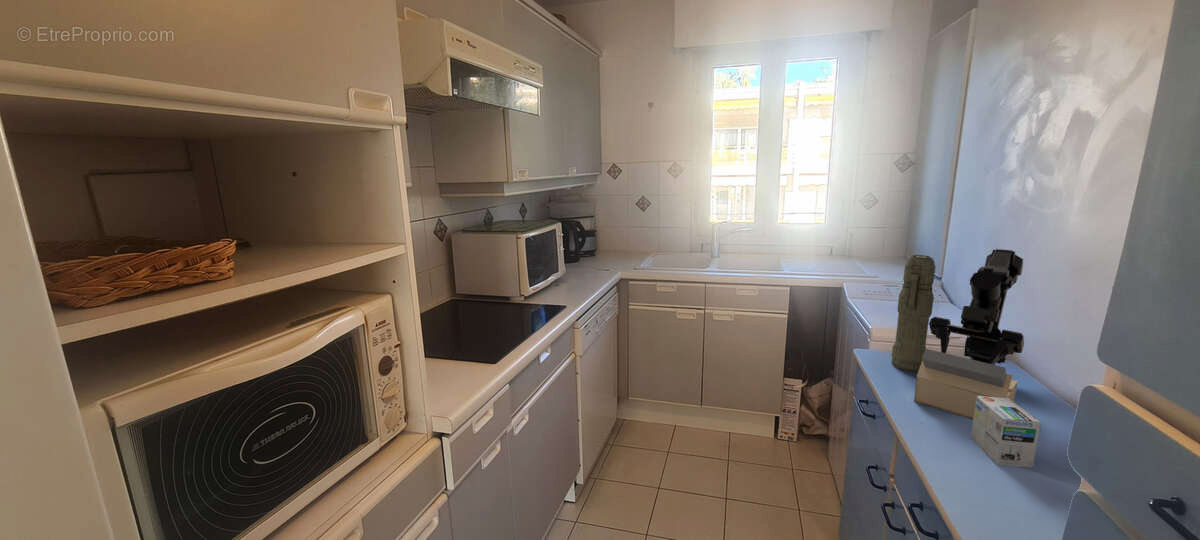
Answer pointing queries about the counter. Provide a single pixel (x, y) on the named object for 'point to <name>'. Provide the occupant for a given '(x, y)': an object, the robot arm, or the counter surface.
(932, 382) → the carton
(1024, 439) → the light bulb box
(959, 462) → the counter surface
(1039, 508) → the counter surface
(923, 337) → the thermos
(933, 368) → the grey stone
